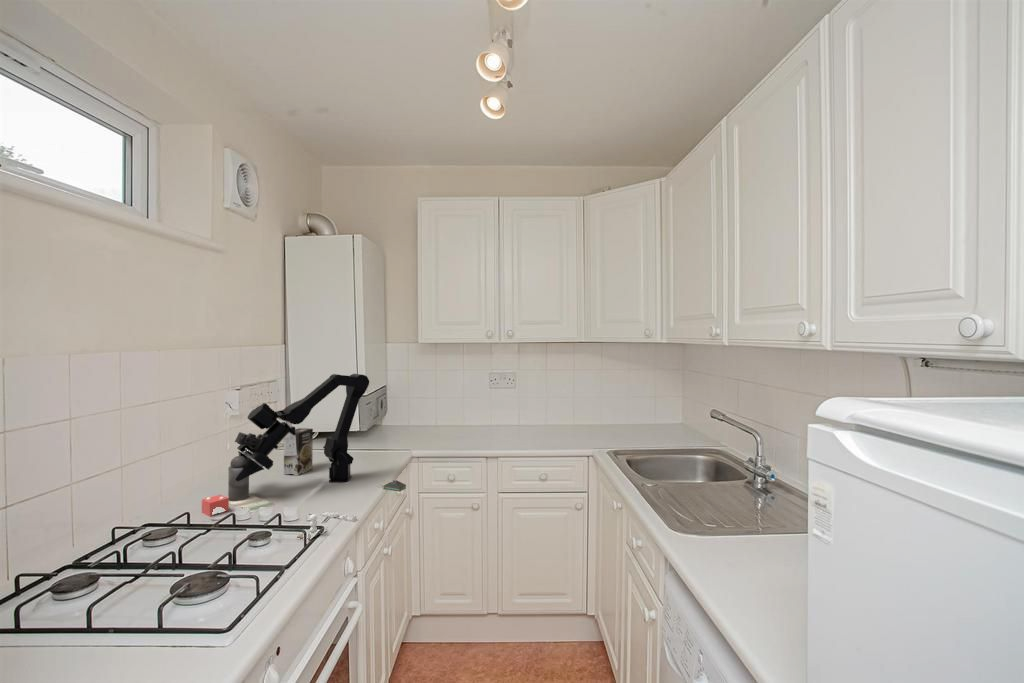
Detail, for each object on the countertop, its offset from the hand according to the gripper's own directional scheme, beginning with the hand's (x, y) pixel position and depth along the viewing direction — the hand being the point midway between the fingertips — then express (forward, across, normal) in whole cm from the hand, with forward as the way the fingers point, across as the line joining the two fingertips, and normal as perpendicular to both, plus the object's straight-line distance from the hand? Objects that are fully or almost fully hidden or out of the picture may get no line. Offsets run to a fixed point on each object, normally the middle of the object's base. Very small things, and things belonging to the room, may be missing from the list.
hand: (233, 478), depth 144 cm
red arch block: (+10, +8, +1) cm, 13 cm away
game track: (+4, +6, +7) cm, 10 cm away
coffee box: (-13, -20, +25) cm, 35 cm away
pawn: (+4, 0, +6) cm, 7 cm away
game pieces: (-12, +30, +24) cm, 40 cm away
